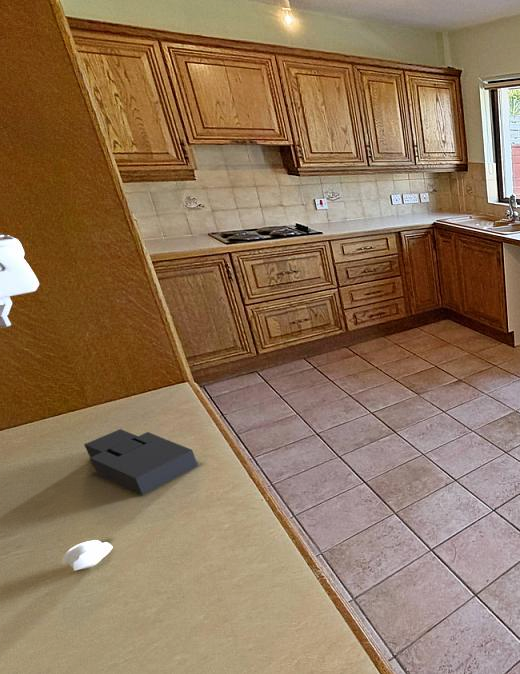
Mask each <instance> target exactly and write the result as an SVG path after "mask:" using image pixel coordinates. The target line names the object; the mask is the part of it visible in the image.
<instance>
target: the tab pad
mask: <svg viewBox="0 0 520 674" xmlns="http://www.w3.org/2000/svg"><path fill="white" fill-rule="evenodd" d="M138 436H139V435H137V434H134V433H131V432H129V431H126V430H124V429H121V428H119V429H117V430H114V431H113V432H110V433H108V434H105V435H103V436H100V437H98V438H95V439H94V440H91V441H89V442H86V443H84V445H83V446H84V447H85V450H86V452H87V454H88V455H89V458H90V457H93V456H95V455H97V454H99V453H102V452H104V451H106V452H108V453H110V454H113V455H115V456H117V457H118V456H121V455H123V454H125V453H127V452H129V451H131V450H134V449H136V448H138V447H140V446H142V445H143V444H141V443H139V442H136V441H135V437H138Z"/></svg>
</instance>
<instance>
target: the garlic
mask: <svg viewBox="0 0 520 674" xmlns="http://www.w3.org/2000/svg"><path fill="white" fill-rule="evenodd" d="M112 549H113V545H112V544H110V543H109V542H107V541H105V542H101V541H100V540H98V539H92V540H87V541H84V542H81V543H78V544H76V545H74V546H73V547H71V548H70V549H68V550H67V552H65V554H64V555H63V557H62V560H61V563H60V565H61V566H62V565H64V564H66V563H68V565H69V566H70V567H71V568H73V572H76V571H79V570H87V569H90V568H92V567H95V566H96V565H97V564H99V563H100V562H101V560H102V559H103V558H105V557H106V556H107V555H108V554H109V553H110V552H111V551H112Z"/></svg>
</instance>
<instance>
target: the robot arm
mask: <svg viewBox="0 0 520 674" xmlns="http://www.w3.org/2000/svg"><path fill="white" fill-rule="evenodd" d="M25 253H26V252H25V250H24V248H23V246H22V243H21V241H19V239H18V238H16V237H14V236H12V235H9V234H2V233H1V232H0V329H4V328H8V327H11V326H12V323H11V321H10V319H9V317H8V316H9V314H10V310H11V308H12V306H13V301H12V299H11V297H13V296H19V295H25V294H29V293H34V292H37V289H38V288H39V286H40V282H39V279H38V278H37V276H36V274H35V273H34V271H33V270H32V268H31V266H30V265H29V263H28V262H27V261H26V259H25V258H24V257H25V255H26V254H25Z"/></svg>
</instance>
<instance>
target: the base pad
mask: <svg viewBox="0 0 520 674" xmlns="http://www.w3.org/2000/svg"><path fill="white" fill-rule="evenodd" d="M137 436H138V437H135V441H136V442H139V443H141V444H143V445H142V446H140V447H138V448H136V449H134V450H131V451H129V452H127V453H125V454H123V455H121V456H118V457H117V456H115V455H113V454H110V453H108V452H106V451H104V452H102V453H99V454H97V455H95V456H93V457H90V456H89V460H90V462H91V464H92V467H93V468H94V470H95V473H96V475H98V476H100V477H102V478H104V479H106V480H108V481H111V482H113V483H115V484H117V485H119V486H121V487H123V488H125V489H127V490H130V491H132V492H134V493H137V495H140V496H144V495H146V494H148V493H150V492H152V491H154V490H155V489H158V488H159V487H162V486H163V485H165V484H167V483H168V482H171V481H172V480H174V479H176V478H177V477H180V476H181V475H184V474H185V473H187V472H189V471H191V470H193V469H194V468H196V467H198V466H199V464H198V462H197V459H196V457H195V453H194V450H193V449H192V448H188V447H187V446H184V445H181V444H179V443H177V442H174V441H171V440H169V439H166V438H164V437H162V436H159V435H156V434H155V433H151V432H149V431H146V432H145V433H142V434H140V435H137Z"/></svg>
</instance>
